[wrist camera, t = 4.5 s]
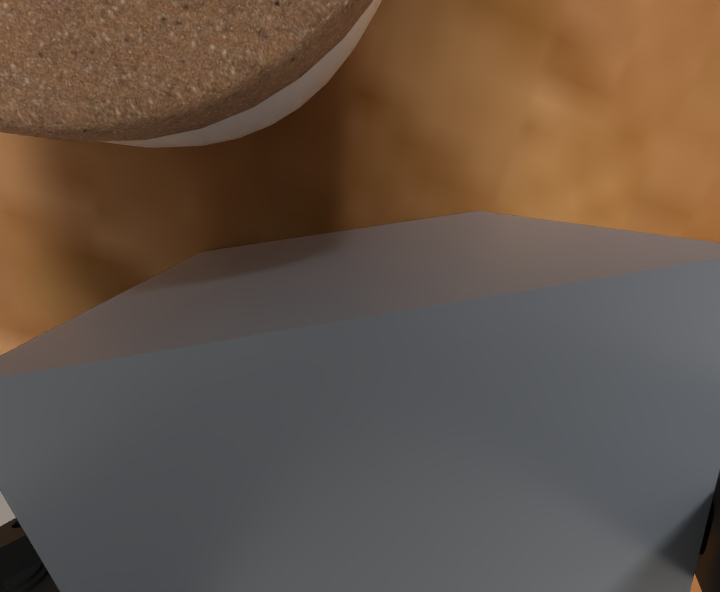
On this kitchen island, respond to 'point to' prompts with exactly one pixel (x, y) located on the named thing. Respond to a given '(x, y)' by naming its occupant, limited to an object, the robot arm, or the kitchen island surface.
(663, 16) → the kitchen island surface
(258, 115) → the lidded jar
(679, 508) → the matte slate cube
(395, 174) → the kitchen island surface
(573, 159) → the kitchen island surface
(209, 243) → the kitchen island surface
